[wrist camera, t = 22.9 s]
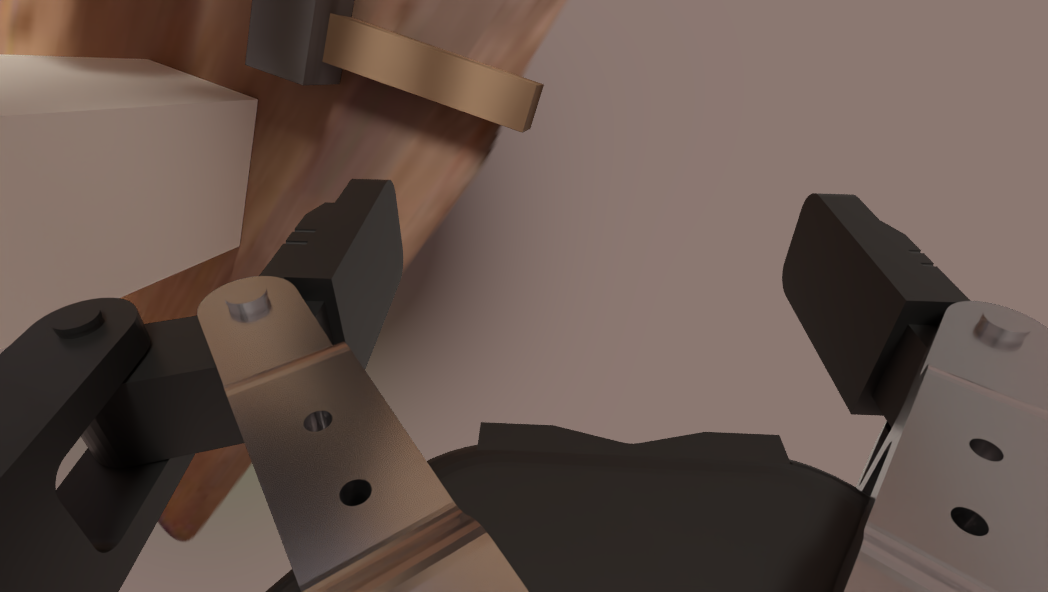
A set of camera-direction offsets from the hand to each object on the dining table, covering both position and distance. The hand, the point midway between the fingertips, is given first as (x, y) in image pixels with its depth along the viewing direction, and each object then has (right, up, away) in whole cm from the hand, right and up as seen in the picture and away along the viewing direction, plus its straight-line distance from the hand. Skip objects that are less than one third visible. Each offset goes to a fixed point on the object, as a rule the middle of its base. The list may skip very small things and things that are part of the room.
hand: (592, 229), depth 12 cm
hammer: (-9, +15, +28) cm, 33 cm away
